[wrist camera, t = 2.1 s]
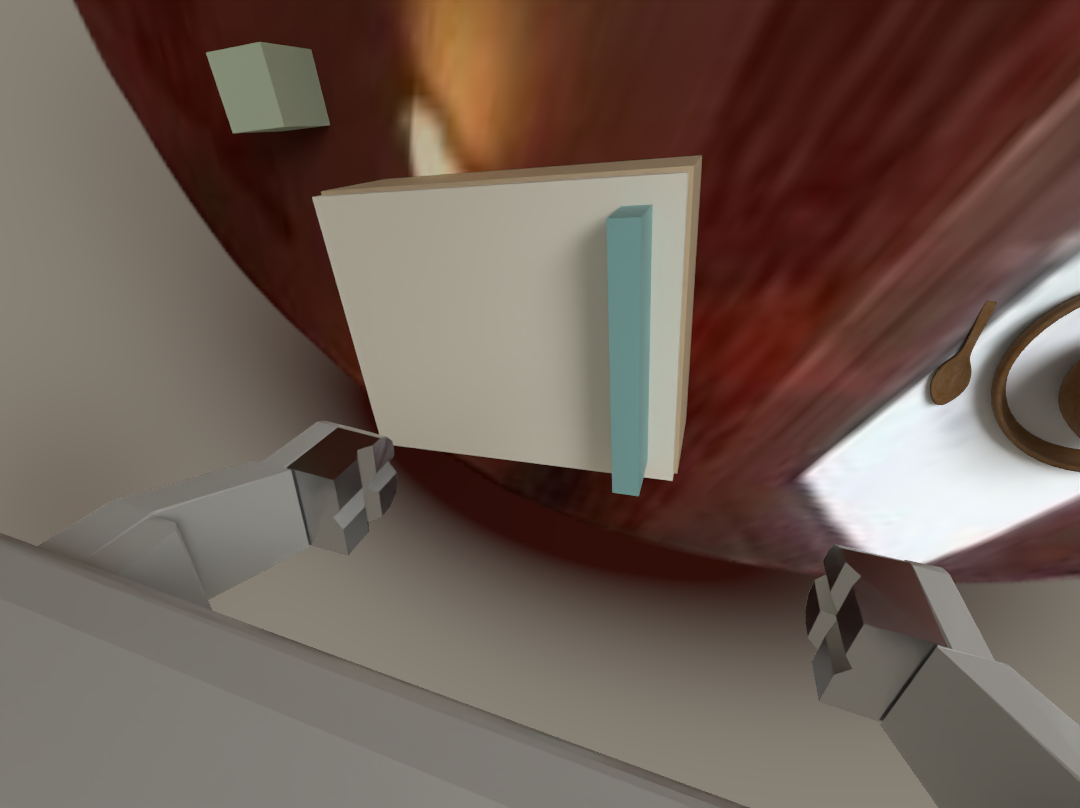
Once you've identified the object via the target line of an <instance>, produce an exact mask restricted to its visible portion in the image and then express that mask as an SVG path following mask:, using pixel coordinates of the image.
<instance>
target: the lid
mask: <svg viewBox="0 0 1080 808" xmlns="http://www.w3.org/2000/svg"><path fill="white" fill-rule="evenodd" d="M688 179H689V171H683V172H668V173H653V174H637V175H622V176H607V177H592V178H577V179H562V180H546V181H531V182H516V183H501V184H486V185H471V186H456V187H440V188H425V189H410V190H395V191H380V192H365V193H349V194H334V195H320V196H315V197H312V199H313V202H314V206H315V210H316V213H317V217H318V220H319V224H320V227H321V231H322V234H323V238H324V241H325V245H326V248H327V252H328V255H329V259H330V262H331V266H332V269H333V273H334V276H335V280H336V283H337V287H338V291H339V294H340V298H341V301H342V305H343V308H344V312H345V315H346V319H347V322H348V326H349V329H350V333H351V336H352V340H353V343H354V347H355V350H356V354H357V357H358V361H359V364H360V368H361V372H362V375H363V379H364V382H365V386H366V389H367V393H368V396H369V400H370V403H371V407H372V410H373V414H374V417H375V420H376V424H377V428H378V431H379V435H382V436H386V437H388V438H389V439H390V440H392V442H393V445H395V446H403V447H411V448H419V449H427V450H434V451H442V452H450V453H458V454H466V455H474V456H481V457H489V458H497V459H505V460H513V461H521V462H528V463H536V464H544V465H552V466H560V467H568V468H575V469H583V470H591V471H599V472H607V473H612V493H620V494H627V495H634V496H639V493H640V489H641V485H642V481H643V477H646V478H654V479H662V480H669V481H672V480H673V475H674V457H675V438H676V418H677V398H678V378H679V358H680V338H681V318H682V298H683V279H684V259H685V239H686V219H687V199H688Z"/></svg>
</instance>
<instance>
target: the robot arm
mask: <svg viewBox="0 0 1080 808" xmlns="http://www.w3.org/2000/svg"><path fill="white" fill-rule="evenodd" d="M393 456H394V449H393V442H392V440H390V439H389V438H388V437H386V436H382V435H379V434H375V433H371V432H367V431H364V430H360V429H356V428H352V427H349V426H343V425H340V424H336V423H332V422H328V421H320V422H316V423H315V424H314V425H312V426H311V427H310V428H308V429H307V430H305V431H304V432H302V433H301V434H300V435H298V436H297V437H295V438H294V439H293V440H291V441H290V442H289V443H287V444H286V445H284V446H283V447H282V448H280V449H279V450H278V451H276V452H275V453H273V454H272V455H270V456H269V457H268V458H266V459H265V460H263V461H262V462H260V461H256V460H254V461H251V462H247V463H243V464H240V465H236V466H232V467H229V468H225V469H222V470H219V471H215V472H211V473H207V474H204V475H200V476H197V477H193V478H190V479H186V480H182V481H179V482H176V483H172V484H168V485H165V486H161V487H158V488H154V489H150V490H147V491H143V492H140V493H136V494H132V495H129V496H125V497H122V498H118V499H115V500H112V501H110V502H109V503H107V504H105V505H104V506H102V507H100V508H99V509H97V510H96V511H94V512H92V513H91V514H89V515H87V516H86V517H84V518H82V519H81V520H79V521H78V522H76V523H74V524H73V525H71V526H69V527H68V528H66V529H64V530H63V531H61V532H59V533H58V534H56V535H55V536H53V537H51V538H50V539H48V540H46V541H45V542H43V543H42V544H40V545H38V546H35V545H32V544H30V543H27V542H24V541H22V540H19V539H16V538H13V537H11V536H8V535H5V534H3V533H0V808H749V807H746V806H743V805H741V804H738V803H735V802H732V801H729V800H727V799H724V798H721V797H719V796H716V795H713V794H711V793H708V792H705V791H702V790H700V789H697V788H694V787H691V786H689V785H686V784H683V783H680V782H677V781H675V780H672V779H669V778H667V777H664V776H661V775H659V774H656V773H653V772H651V771H648V770H645V769H642V768H640V767H637V766H634V765H631V764H629V763H626V762H623V761H620V760H618V759H615V758H612V757H609V756H606V755H604V754H601V753H599V752H596V751H593V750H590V749H587V748H585V747H582V746H580V745H577V744H574V743H571V742H569V741H566V740H563V739H560V738H558V737H555V736H552V735H549V734H547V733H544V732H541V731H539V730H536V729H533V728H530V727H528V726H525V725H522V724H519V723H517V722H514V721H511V720H509V719H506V718H503V717H500V716H498V715H495V714H492V713H490V712H487V711H484V710H481V709H479V708H476V707H473V706H470V705H468V704H465V703H462V702H459V701H457V700H454V699H451V698H449V697H446V696H443V695H441V694H438V693H435V692H432V691H430V690H427V689H424V688H421V687H419V686H416V685H413V684H411V683H408V682H405V681H402V680H400V679H397V678H394V677H392V676H388V675H386V674H383V673H381V672H378V671H375V670H372V669H370V668H367V667H364V666H362V665H359V664H356V663H353V662H351V661H348V660H345V659H343V658H340V657H337V656H334V655H332V654H329V653H326V652H323V651H321V650H318V649H315V648H313V647H310V646H307V645H304V644H302V643H299V642H296V641H294V640H290V639H288V638H285V637H283V636H280V635H277V634H274V633H272V632H269V631H266V630H264V629H261V628H258V627H255V626H253V625H250V624H247V623H245V622H242V621H239V620H236V619H234V618H231V617H228V616H226V615H223V614H220V613H217V612H215V611H212V608H211V606H210V604H209V601H208V600H209V599H211V598H213V597H215V596H217V595H219V594H221V593H223V592H225V591H226V590H228V589H230V588H232V587H234V586H236V585H238V584H240V583H242V582H244V581H246V580H248V579H250V578H251V577H253V576H255V575H257V574H259V573H261V572H263V571H265V570H267V569H269V568H271V567H272V566H274V565H276V564H278V563H280V562H282V561H284V560H286V559H288V558H290V557H292V556H293V555H295V554H297V553H299V552H301V551H303V550H305V549H307V548H309V545H312V546H316V547H320V548H323V549H327V550H331V551H334V552H337V553H341V554H345V555H349V554H350V553H351V552H352V550H353V549H354V548H355V547H356V546H357V545H358V544H359V542H360V541H361V540H362V539H363V538H364V537H365V536H366V535H367V533H368V532H369V522H370V521H373V520H375V519H378V518H380V517H382V516H383V515H384V514H385V513H386V511H387V510H388V509H389V508H390V506H391V504H392V502H393V499H394V497H395V495H396V489H397V473H396V471H395V470H394V468H393V467H392V466H391V465H390V463H389V461H390V460H391V459H392V457H393ZM823 562H824V567H825V571H826V575H825V576H822V577H820V578H818V579H816V580H814V582H813V584H812V587H811V589H810V592H809V594H808V598H807V604H806V609H805V624H806V631H807V636H808V638H809V640H810V641H811V642H812V643H813V644H814V646H815V647H816V648H817V649H818V651H817V653H816V655H815V657H814V659H813V660H812V666H813V671H814V677H815V682H816V687H817V693H818V699H819V702H822V703H826V704H828V705H831V706H834V707H837V708H840V709H843V710H846V711H849V712H852V713H855V714H858V715H861V716H864V717H867V718H870V719H873V720H876V721H879V722H882V723H881V727H882V728H883V730H884V731H885V732H886V734H887V735H888V737H889V738H890V740H891V741H892V742H893V743H894V745H895V747H896V748H897V749H898V751H899V752H900V754H901V755H902V757H903V758H904V759H905V761H906V762H907V764H908V765H909V766H910V768H911V769H912V771H913V772H914V774H915V775H916V776H917V778H918V779H919V780H920V782H921V783H922V785H923V786H924V788H925V789H926V790H927V792H928V793H929V795H930V796H931V798H932V799H933V800H934V802H935V803H936V805H937V806H938V808H1080V726H1079V725H1078V724H1077V723H1076V722H1074V721H1073V720H1072V719H1071V718H1069V717H1068V716H1067V715H1066V714H1065V713H1064V712H1062V711H1061V710H1060V709H1059V708H1058V707H1057V706H1056V705H1054V704H1053V703H1052V702H1051V701H1050V700H1048V699H1047V698H1046V697H1045V696H1044V695H1043V694H1042V693H1040V692H1039V691H1038V690H1037V689H1036V688H1035V687H1033V686H1032V685H1031V684H1030V683H1029V682H1027V681H1026V680H1025V679H1024V678H1023V677H1022V676H1020V675H1019V674H1018V673H1017V672H1016V671H1015V670H1013V669H1012V668H1011V667H1010V666H1009V665H1007V664H1004V663H1000V662H997V661H995V660H994V658H993V656H992V654H991V652H990V651H989V649H988V647H987V645H986V643H985V641H984V639H983V637H982V635H981V633H980V632H979V630H978V628H977V626H976V624H975V622H974V620H973V618H972V616H971V614H970V613H969V611H968V609H967V607H966V605H965V603H964V601H963V599H962V597H961V595H960V594H959V592H958V590H957V588H956V586H955V584H954V582H953V580H952V578H951V576H950V575H949V573H947V572H946V571H945V570H944V569H943V568H940V567H935V566H930V565H926V564H921V563H917V562H912V561H907V560H904V561H903V560H899V559H895V558H890V557H886V556H882V555H878V554H873V553H869V552H865V551H861V550H856V549H852V548H848V547H844V546H839V545H834V546H833V547H832V548H831V549H830V550H829V551H828V553H827V555H826V557H825V559H824V561H823Z"/></svg>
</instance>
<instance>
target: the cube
mask: <svg viewBox="0 0 1080 808" xmlns="http://www.w3.org/2000/svg"><path fill="white" fill-rule="evenodd" d="M206 55H207V58H208V61H209V64H210V67H211V70H212V73H213V75H214V78H215V81H216V84H217V87H218V90H219V93H220V96H221V99H222V102H223V105H224V108H225V111H226V114H227V117H228V120H229V123H230V126H231V129H232V132H233V133H253V132H277V131H288V130H296V129H305V128H313V127H321V126H329V125H330V122H329V118H328V114H327V110H326V106H325V103H324V99H323V95H322V91H321V87H320V83H319V79H318V75H317V71H316V67H315V63H314V59H313V55H312V51H311V49H305V48H298V47H292V46H285V45H278V44H271V43H265V42H257V43H252V44H247V45H242V46H237V47H232V48H227V49H222V50H217V51H212V52H207V53H206Z"/></svg>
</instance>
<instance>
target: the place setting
mask: <svg viewBox="0 0 1080 808" xmlns="http://www.w3.org/2000/svg"><path fill="white" fill-rule="evenodd" d="M996 305H997V302H993V301H987V302H986V303H985V304H984V306H983V307H982V309H981V311H980V313H979V315H978V317H977V319H976V321H975V323H974V326H973V328H972V330H971V332H970V334H969V336H968V338H967V340H966V342H965V344H964V346H963V347H962V349H961V350H960V351H959V353H958V354H957V355H956V356H954V357H953V358H951V359H950V360H948V361H947V362H945V363H944V364H943V365H942V366H941V367H940V368H939V369H938V370H937V372H936V373H935V375H934V376H933V378H932V381H931V386H930V393H931V398H932V400H933V402H934V403H935V404H937V405H944V404H946V403H948V402H950V401H952V400H953V399H955V398H956V397H957V396H959V395H960V394H961V393H962V392H963V391H964V390H965V388H966V387H967V386H968V384H969V381H970V378H971V364H970V355H971V352H972V350H973V347H974V345H975V343H976V341H977V340H978V338H979V336H980V334H981V332H982V330H983V329H984V327H985V325H986V323H987V321H988V320H989V318H990V316H991V314H992V312H993V311H994V309H995V307H996ZM1079 307H1080V295H1078V296H1076V297H1074V298H1072V299H1070V300H1068V301H1066V302H1064V303H1062V304H1061V305H1059V306H1057V307H1056V308H1054V309H1052V310H1051V311H1049V312H1047V313H1046V314H1045V315H1043V316H1042V317H1041V318H1039V319H1038V320H1037V321H1035V322H1034V323H1033V324H1032V325H1031V326H1029V327H1028V328H1027V329H1026V330H1025V331H1024V332H1023V333H1022V334H1021V335H1020V336H1019V337H1018V338H1017V339H1016V340H1015V341H1014V342H1013V344H1012V345H1011V346H1010V348H1009V349H1008V350H1007V352H1006V353H1005V355H1004V356H1003V358H1002V360H1001V362H1000V364H999V366H998V368H997V370H996V373H995V376H994V379H993V385H992V391H991V397H992V407H993V411H994V415H995V418H996V420H997V422H998V424H999V426H1000V428H1001V429H1002V431H1003V432H1004V433H1005V435H1006V436H1007V437H1008V439H1009V440H1010V441H1011V442H1012V443H1013V444H1014V445H1015V446H1016V447H1017V448H1019V449H1020V450H1022V451H1023V452H1024V453H1026V454H1027V455H1029V456H1031V457H1033V458H1035V459H1037V460H1039V461H1041V462H1043V463H1046V464H1049V465H1051V466H1054V467H1058V468H1062V469H1066V470H1071V471H1077V472H1080V449H1073V448H1067V447H1063V446H1059V445H1055V444H1052V443H1049V442H1047V441H1044V440H1042V439H1040V438H1038V437H1036V436H1034V435H1032V434H1031V433H1030V432H1028V431H1027V430H1025V429H1024V428H1023V427H1022V426H1021V425H1020V424H1019V423H1018V422H1017V421H1016V419H1015V418H1014V417H1013V415H1012V414H1011V411H1010V409H1009V407H1008V404H1007V400H1006V381H1007V376H1008V373H1009V370H1010V369H1011V367H1012V365H1013V363H1014V362H1015V360H1016V359H1017V357H1018V356H1019V355H1020V353H1021V352H1022V351H1023V350H1024V349H1025V347H1026V346H1027V345H1028V344H1029V343H1030V342H1031V341H1032V340H1033V339H1034V338H1035V337H1036V336H1038V335H1039V334H1040V333H1041V332H1042V331H1043V330H1045V329H1046V328H1047V327H1049V326H1050V325H1051V324H1053V323H1054V322H1056V321H1057V320H1058V319H1060V318H1062V317H1063V316H1065V315H1067V314H1069V313H1070V312H1072V311H1074V310H1075V309H1077V308H1079ZM1059 407H1060V411H1061V413H1062V416H1063V418H1064V420H1065V421H1066V423H1067V424H1068V426H1069V427H1070V428H1071V429H1072V430H1073V432H1074V433H1075V434H1076V435H1077V436H1078V437H1079V438H1080V360H1079V361H1078V362H1077V363H1076V364H1075V365H1074V366H1073V367H1072V369H1071V370H1070V371H1069V372H1068V374H1067V375H1066V377H1065V378H1064V380H1063V382H1062V385H1061V387H1060V392H1059Z"/></svg>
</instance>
